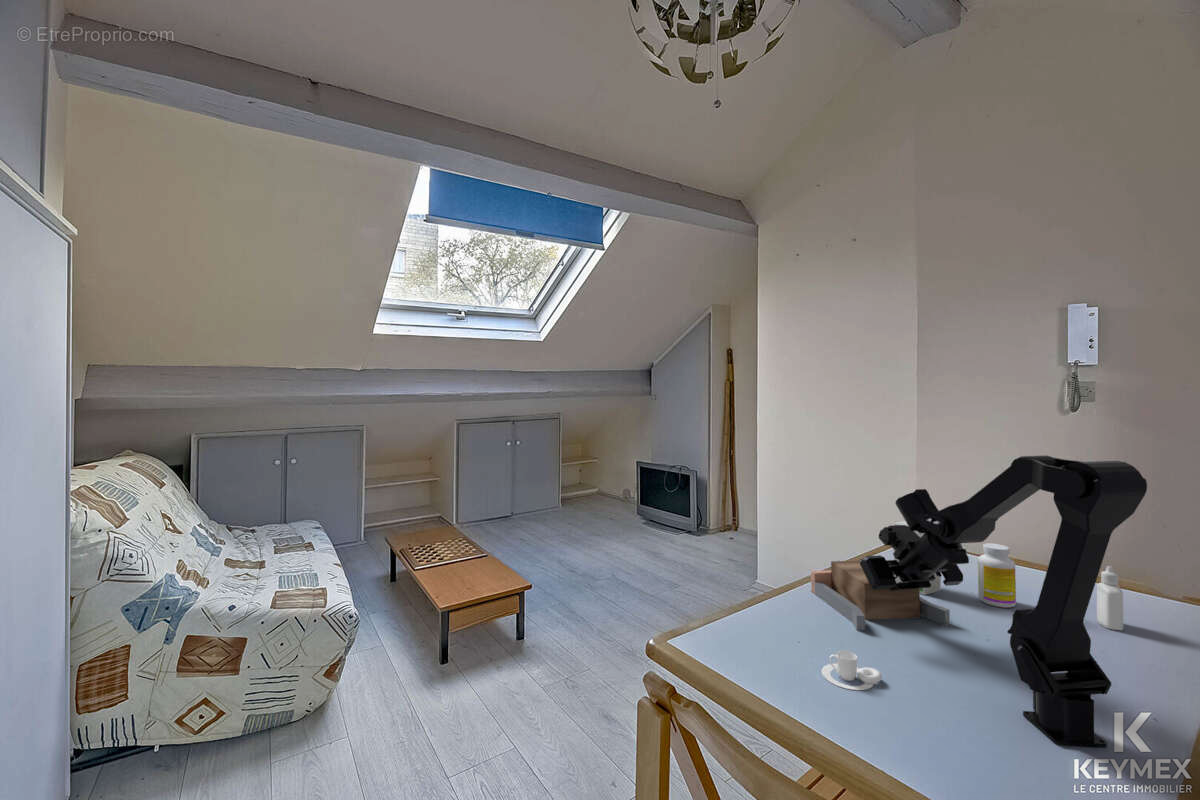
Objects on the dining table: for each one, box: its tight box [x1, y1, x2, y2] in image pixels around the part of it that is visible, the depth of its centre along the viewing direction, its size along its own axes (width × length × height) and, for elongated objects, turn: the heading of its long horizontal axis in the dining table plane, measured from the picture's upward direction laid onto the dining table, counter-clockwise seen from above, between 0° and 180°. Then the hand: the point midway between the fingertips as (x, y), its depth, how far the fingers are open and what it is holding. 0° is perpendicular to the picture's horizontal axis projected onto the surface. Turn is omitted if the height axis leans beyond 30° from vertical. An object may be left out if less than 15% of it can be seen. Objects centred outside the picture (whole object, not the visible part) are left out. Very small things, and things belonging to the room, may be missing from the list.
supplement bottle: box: [977, 542, 1017, 609], centre depth 113 cm, size 7×7×13 cm
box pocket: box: [810, 569, 951, 632], centre depth 111 cm, size 20×20×5 cm
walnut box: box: [830, 559, 921, 621], centre depth 113 cm, size 14×12×8 cm
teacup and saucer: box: [821, 650, 883, 691], centre depth 84 cm, size 9×8×4 cm
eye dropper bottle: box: [1096, 565, 1124, 632], centre depth 101 cm, size 4×6×12 cm
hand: (891, 588), depth 105 cm, fingers closed
